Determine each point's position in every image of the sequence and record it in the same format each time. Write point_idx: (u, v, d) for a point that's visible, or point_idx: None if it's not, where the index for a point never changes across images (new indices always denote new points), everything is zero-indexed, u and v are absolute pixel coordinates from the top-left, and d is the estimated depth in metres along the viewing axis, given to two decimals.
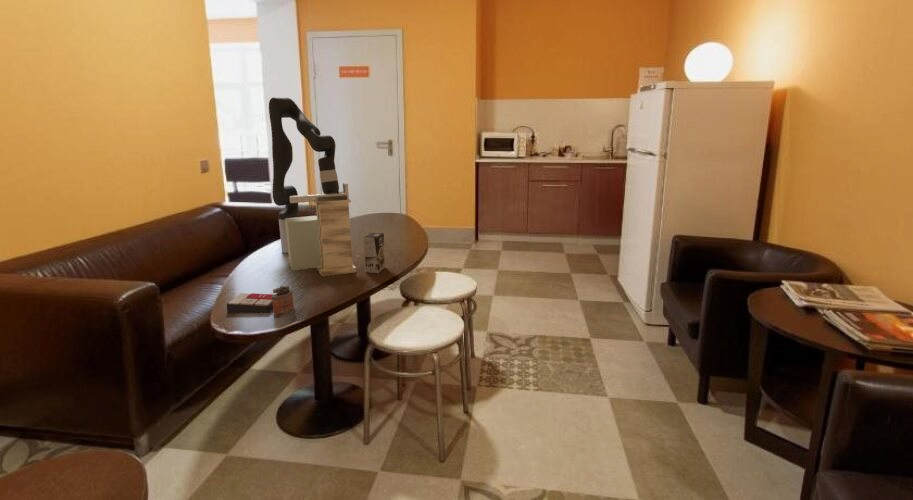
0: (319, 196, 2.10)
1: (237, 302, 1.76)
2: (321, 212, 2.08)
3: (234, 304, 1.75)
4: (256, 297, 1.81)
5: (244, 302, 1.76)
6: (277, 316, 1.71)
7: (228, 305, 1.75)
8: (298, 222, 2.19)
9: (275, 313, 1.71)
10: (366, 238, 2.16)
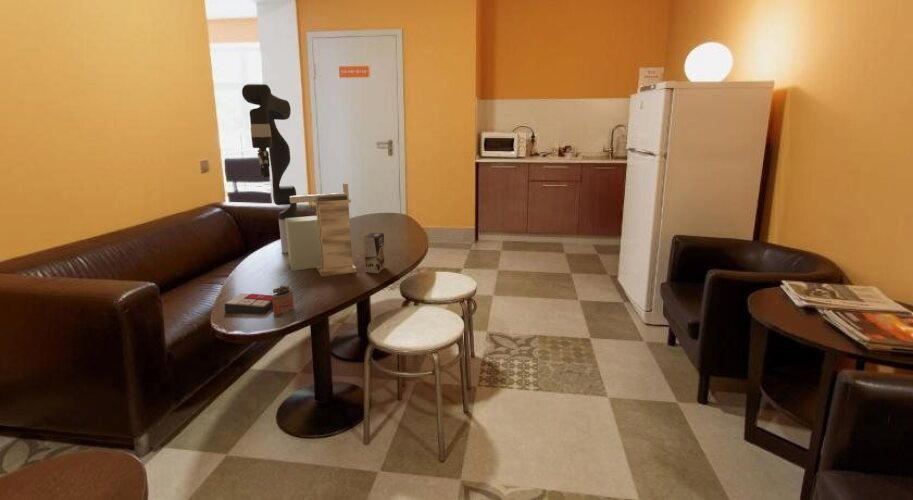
0: (319, 196, 2.10)
1: (235, 302, 1.76)
2: (321, 212, 2.08)
3: (231, 304, 1.75)
4: (254, 298, 1.80)
5: (241, 302, 1.75)
6: (277, 316, 1.71)
7: (226, 305, 1.75)
8: (298, 222, 2.19)
9: (275, 313, 1.71)
10: (366, 238, 2.16)
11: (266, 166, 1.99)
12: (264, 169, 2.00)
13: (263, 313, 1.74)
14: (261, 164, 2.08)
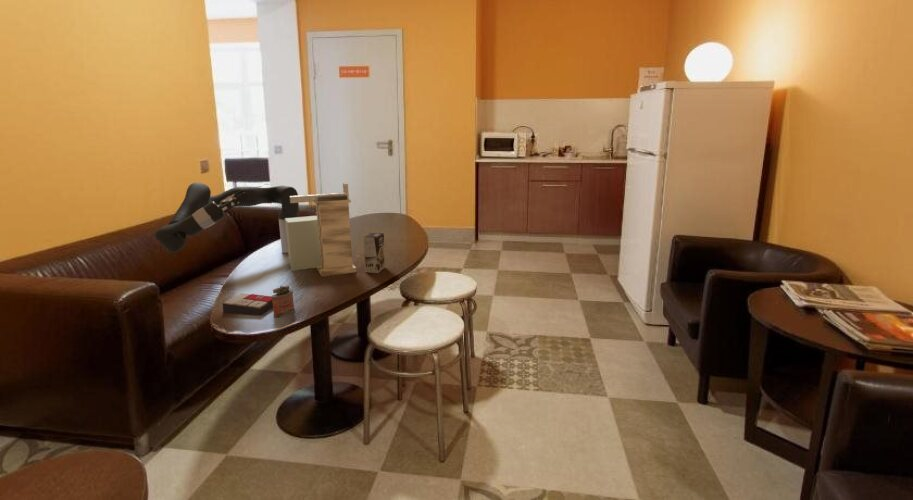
0: (319, 196, 2.10)
1: (232, 302, 1.76)
2: (321, 212, 2.08)
3: (229, 304, 1.75)
4: (253, 298, 1.80)
5: (239, 303, 1.75)
6: (277, 316, 1.71)
7: (224, 305, 1.75)
8: (298, 222, 2.19)
9: (275, 313, 1.71)
10: (366, 238, 2.16)
11: (236, 200, 1.92)
12: (240, 200, 1.94)
13: (259, 314, 1.73)
14: None
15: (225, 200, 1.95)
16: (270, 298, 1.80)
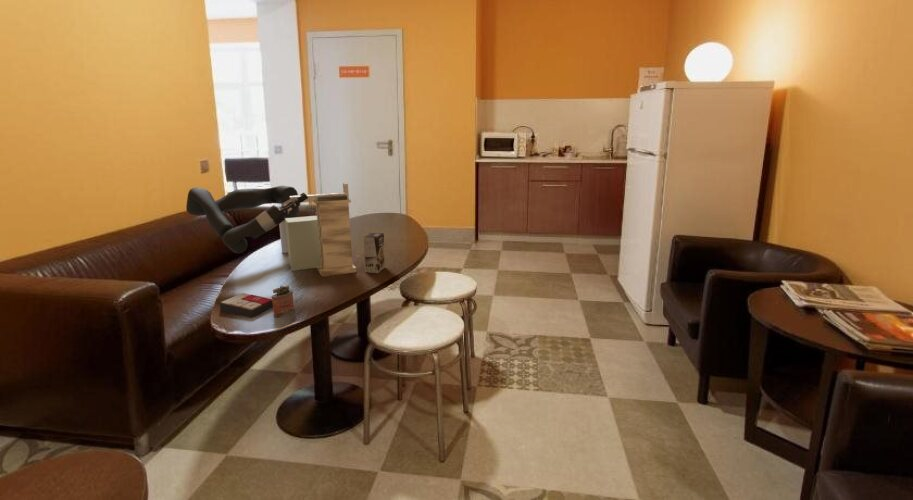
0: (319, 196, 2.10)
1: (229, 302, 1.76)
2: (321, 212, 2.08)
3: (225, 304, 1.75)
4: (250, 299, 1.79)
5: (234, 303, 1.75)
6: (277, 316, 1.71)
7: (220, 304, 1.76)
8: (298, 222, 2.19)
9: (275, 313, 1.71)
10: (366, 238, 2.16)
11: None
12: (301, 201, 2.06)
13: (251, 316, 1.71)
14: None
15: (286, 203, 2.05)
16: (266, 300, 1.78)
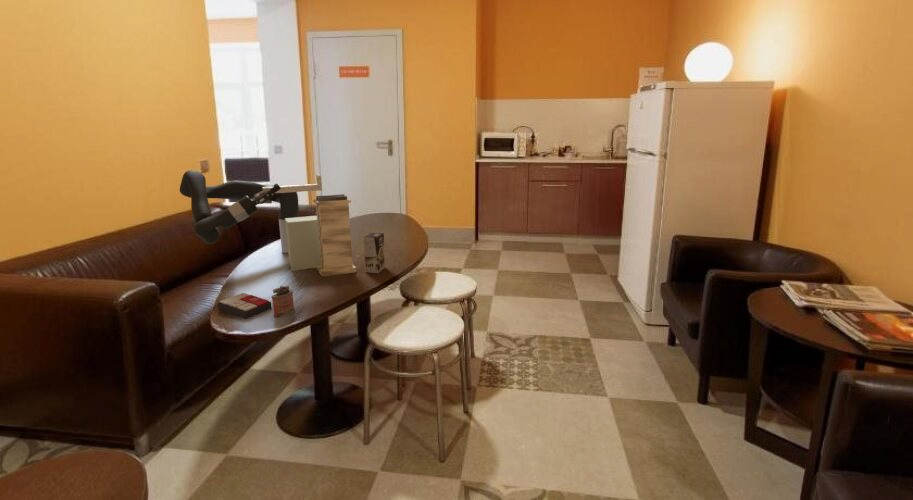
0: (292, 187, 2.12)
1: (226, 302, 1.76)
2: (321, 212, 2.08)
3: (223, 303, 1.75)
4: (248, 300, 1.78)
5: (231, 303, 1.75)
6: (277, 316, 1.71)
7: (218, 303, 1.76)
8: (298, 222, 2.19)
9: (275, 313, 1.71)
10: (366, 238, 2.16)
11: None
12: (274, 192, 2.08)
13: (244, 317, 1.70)
14: None
15: (258, 194, 2.07)
16: (263, 301, 1.77)
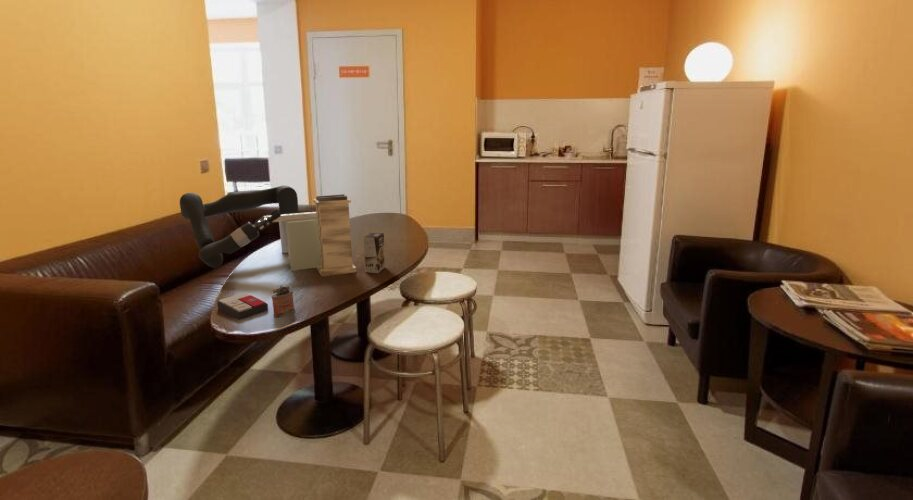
0: (292, 216, 2.21)
1: (225, 301, 1.77)
2: (321, 212, 2.08)
3: (221, 302, 1.76)
4: (245, 300, 1.78)
5: (228, 303, 1.75)
6: (277, 316, 1.71)
7: (218, 302, 1.77)
8: (298, 222, 2.19)
9: (275, 313, 1.71)
10: (366, 238, 2.16)
11: (271, 219, 2.14)
12: (274, 219, 2.16)
13: (238, 318, 1.70)
14: None
15: (260, 220, 2.16)
16: (259, 303, 1.76)
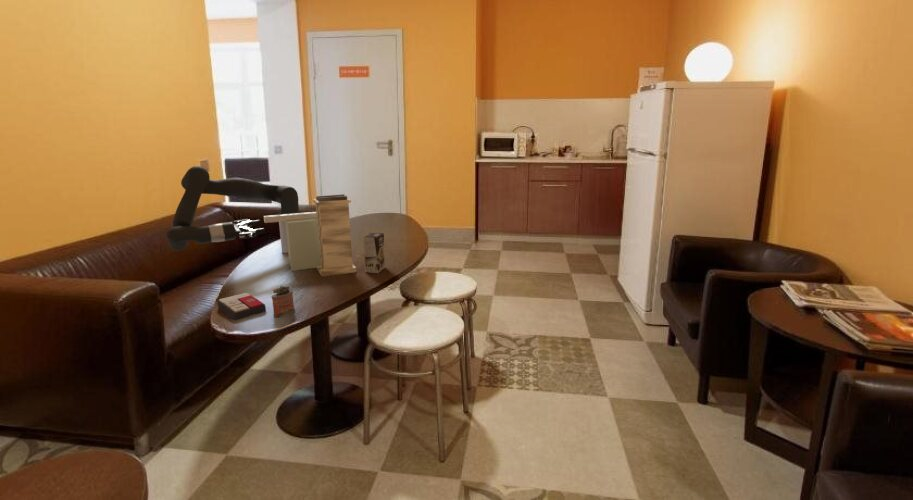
0: (292, 216, 2.21)
1: (224, 301, 1.77)
2: (321, 212, 2.08)
3: (220, 302, 1.77)
4: (244, 300, 1.77)
5: (227, 302, 1.75)
6: (277, 316, 1.71)
7: (218, 301, 1.78)
8: (298, 222, 2.19)
9: (275, 313, 1.71)
10: (366, 238, 2.16)
11: (255, 233, 2.09)
12: None
13: (234, 318, 1.70)
14: (249, 225, 2.17)
15: (243, 227, 2.10)
16: (256, 304, 1.75)
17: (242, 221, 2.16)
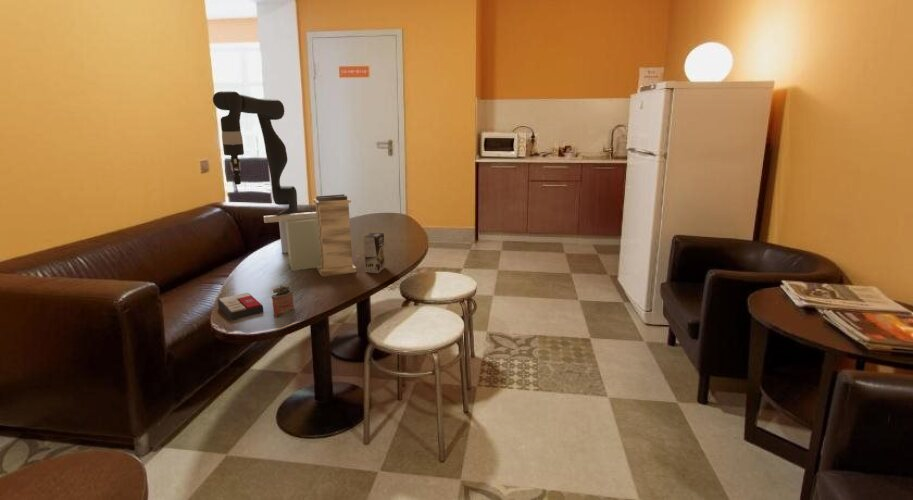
0: (292, 216, 2.21)
1: (224, 300, 1.78)
2: (321, 212, 2.08)
3: (220, 301, 1.77)
4: (243, 300, 1.77)
5: (226, 302, 1.76)
6: (277, 316, 1.71)
7: (218, 301, 1.79)
8: (298, 222, 2.19)
9: (275, 313, 1.71)
10: (366, 238, 2.16)
11: (237, 174, 2.00)
12: (235, 176, 2.00)
13: (230, 318, 1.69)
14: (234, 171, 2.08)
15: None
16: (254, 304, 1.75)
17: None
